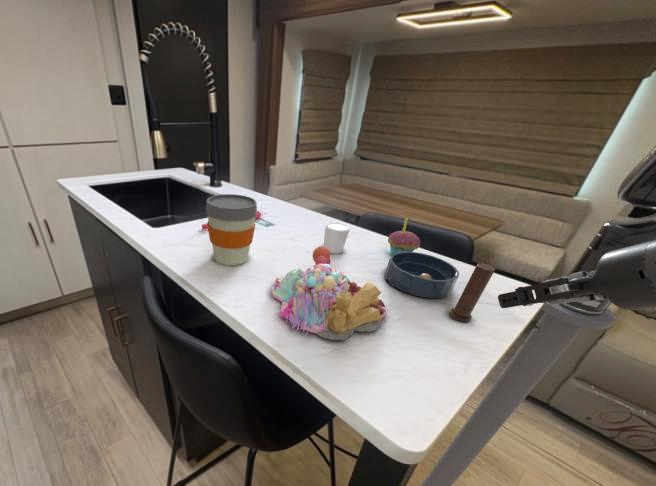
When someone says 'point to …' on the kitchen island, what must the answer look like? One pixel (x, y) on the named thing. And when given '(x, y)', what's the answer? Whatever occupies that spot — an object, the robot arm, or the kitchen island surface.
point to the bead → (425, 276)
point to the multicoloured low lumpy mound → (328, 300)
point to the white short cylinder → (335, 237)
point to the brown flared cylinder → (472, 293)
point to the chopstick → (204, 226)
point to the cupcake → (403, 240)
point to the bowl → (411, 265)
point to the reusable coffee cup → (231, 227)
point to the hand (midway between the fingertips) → (521, 299)
